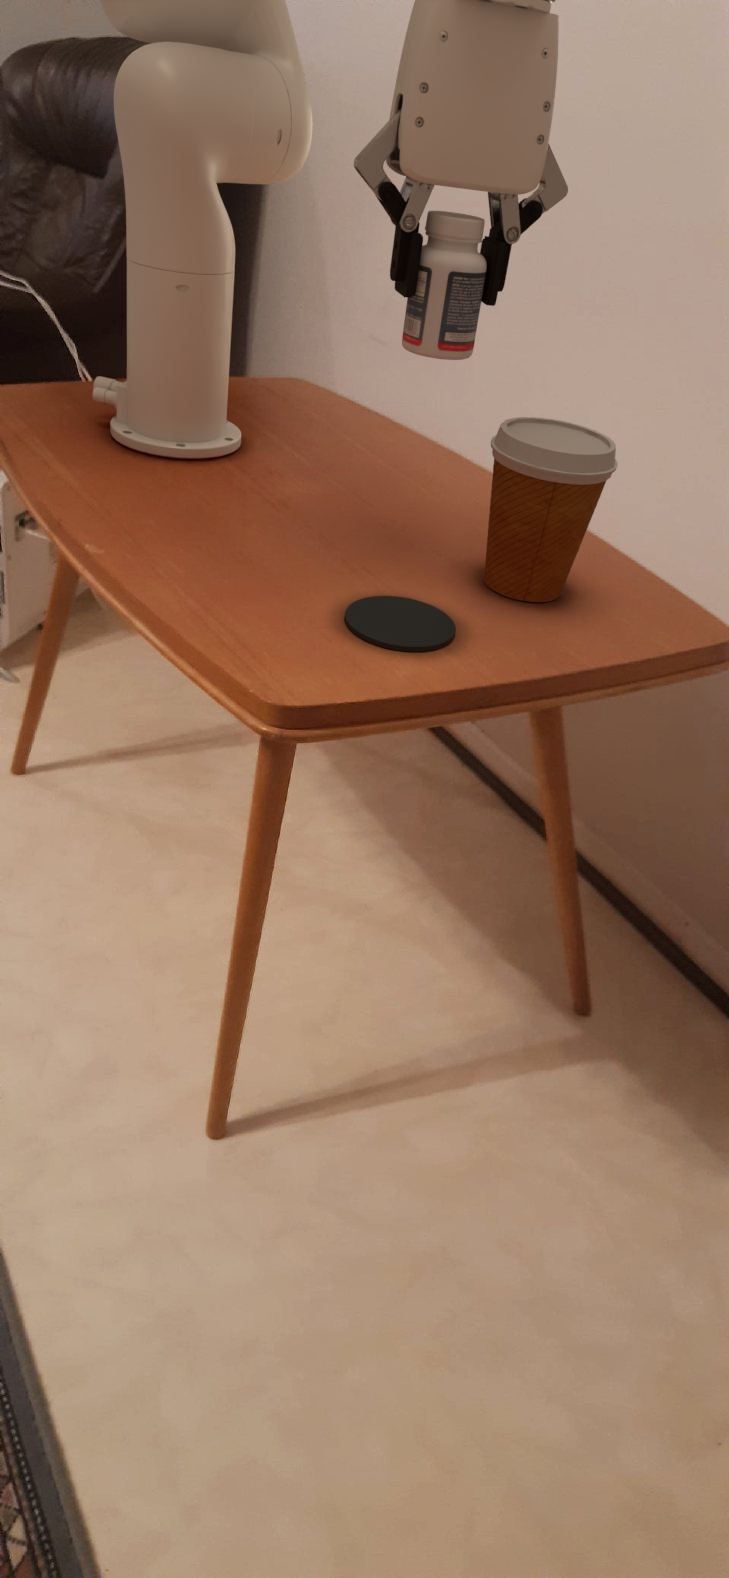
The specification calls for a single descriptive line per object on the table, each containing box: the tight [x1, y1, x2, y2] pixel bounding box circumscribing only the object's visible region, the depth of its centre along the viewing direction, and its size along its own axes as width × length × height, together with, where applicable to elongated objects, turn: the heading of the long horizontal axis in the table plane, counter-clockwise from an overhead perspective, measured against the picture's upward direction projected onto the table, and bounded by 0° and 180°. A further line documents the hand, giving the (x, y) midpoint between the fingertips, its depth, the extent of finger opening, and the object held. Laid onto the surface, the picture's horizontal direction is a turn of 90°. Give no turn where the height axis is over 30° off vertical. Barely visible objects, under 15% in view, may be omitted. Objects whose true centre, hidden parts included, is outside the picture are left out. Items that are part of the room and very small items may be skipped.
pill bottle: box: [401, 210, 487, 361], centre depth 73 cm, size 5×5×9 cm
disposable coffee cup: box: [483, 416, 619, 603], centre depth 79 cm, size 10×10×12 cm
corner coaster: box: [344, 595, 457, 653], centre depth 73 cm, size 8×8×1 cm
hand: (444, 295), depth 73 cm, fingers closed on pill bottle, 5 cm apart
